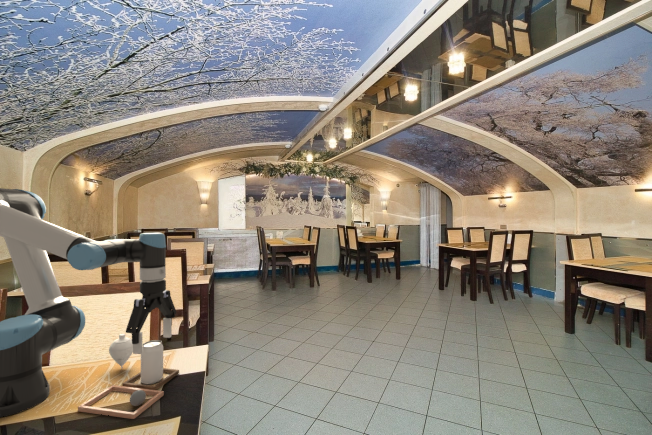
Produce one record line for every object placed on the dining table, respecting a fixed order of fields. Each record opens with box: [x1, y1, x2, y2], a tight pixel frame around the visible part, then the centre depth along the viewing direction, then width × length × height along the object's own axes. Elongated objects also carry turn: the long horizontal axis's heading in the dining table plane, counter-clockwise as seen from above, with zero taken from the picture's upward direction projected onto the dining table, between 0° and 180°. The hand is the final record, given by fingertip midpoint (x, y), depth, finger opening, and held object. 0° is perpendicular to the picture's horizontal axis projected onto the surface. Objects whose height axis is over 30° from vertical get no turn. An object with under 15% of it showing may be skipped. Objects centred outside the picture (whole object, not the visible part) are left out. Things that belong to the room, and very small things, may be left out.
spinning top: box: [108, 333, 133, 369], centre depth 113 cm, size 8×8×12 cm
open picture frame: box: [77, 384, 165, 420], centre depth 92 cm, size 18×12×1 cm, turn 80°
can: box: [140, 339, 164, 385], centre depth 105 cm, size 6×6×12 cm
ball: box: [129, 390, 147, 407], centre depth 91 cm, size 4×4×4 cm
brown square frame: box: [121, 367, 180, 391], centre depth 105 cm, size 12×12×1 cm
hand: (153, 344), depth 105 cm, fingers open, 13 cm apart
